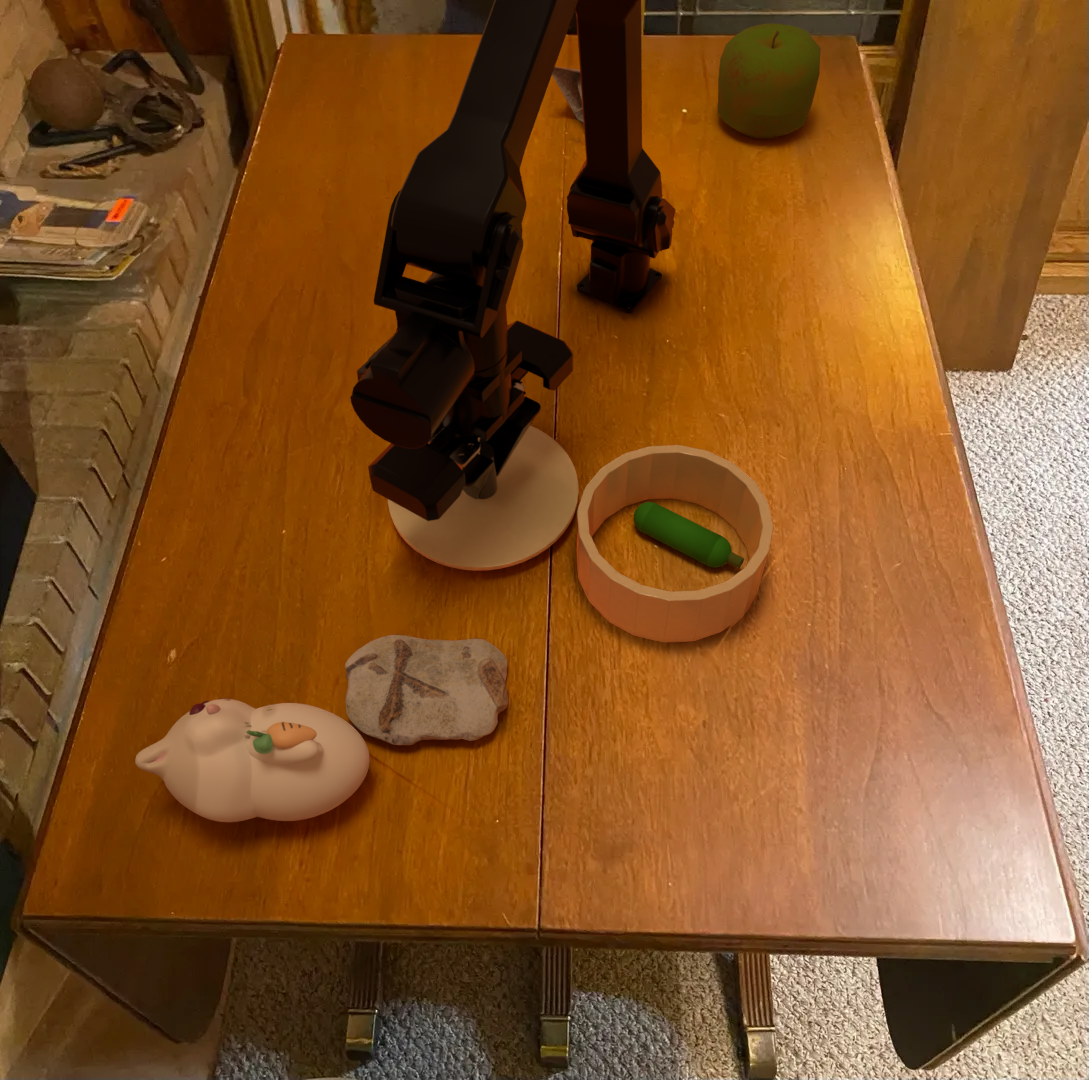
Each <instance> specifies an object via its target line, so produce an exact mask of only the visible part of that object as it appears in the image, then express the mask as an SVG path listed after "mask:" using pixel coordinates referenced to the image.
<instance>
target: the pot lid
mask: <svg viewBox="0 0 1089 1080" xmlns="http://www.w3.org/2000/svg"><path fill="white" fill-rule="evenodd" d="M480 446H481V449H480V454H482V455H484V456H486V457H488V458H490V459H492V460H493V461H494V463H493V465H492V468H491V471H490V473H489V475H488V478H487V481H486V483H485V486H484V488H483V490H482V493H481V495H480V497H479V498H478V499H474V498H472V497H470V496H468V495H467V494H466V493H465V492H464V491H463V490H462V492H461V495H460V496H459V498H458V499H457V500H456V501H455V502H454V503H453V504H452V505H451V506H450V507H449V509H448V510H447V511H446V512H445V513H444V514H443V515H442V516H441V517H440V519H438V520H432V521H427V520H425V519H423V518H421V517H420V516H418V515H416V514H414V513H412V512H411V511H409V510H407V509H405V508H403V507H401V506H400V505H398V504H396V503H394V502H392V501H391V500H389V499H387V506H388V512H389V516H390V519H391V521H392V523H393V526H394V528H395V530H396V531H397V533H398V535H399V536H400V537H401V538H402V539H403V541H404V542H405V543H406V544H407V545H408V546H409V547H411V549H413V550H414V551H415V552H417V553H418V554H420V555H422V556H423V557H424V558H426V559H429V560H430V561H432V562H435V563H436V564H439V565H442V566H445V567H447V568H452V569H458V570H464V571H493V570H494V571H495V570H501V569H504V568H505V569H506V568H509V567H513V566H516V565H519V564H522V563H524V562H527V561H528V560H531V559H534V558H535V557H537V556H539V555H540V554H542V553H543V552H545V551H546V550H548V549H549V548H550V547H551V546H552V545H553V544H555V543H556V542H557V541H558V540H559V539H560V538H561V536H562V535H564V533H565V532H566V530H567V529H568V527H569V526H570V524H571V522H572V521H573V518H574V516H575V513H576V510H577V508H578V502H579V495H580V494H579V493H580V491H579V480H578V474H577V470H576V468H575V465H574V463H573V461H572V459H571V458H570V456H569V454H568V453H567V451H566V450H565V449H564V448H563V446H562V445H560V444H559V443H558V442H557V441H556V440H555V438H553V437H551V436H550V435H549V434H547V433H546V432H544V431H542V430H540V429H538V428H537V427H535V426H532V425H530V426H529V428H528V429H527V431H526V432H525V434H524V435H523V437H522V439H521V440H520V442H519V443H518V445H517V446H516V448H515V450H514V451H513V453H512V454H511V456H510V458H509V459H508V461H507V463H506V464H505V466H504V467H503V469H502V471H501V472H500V474H499V475H498V476H497V475H496V464H495V453H494V449H493V447H492V446H491V445H490V444H488V443H486V442H481V441H480Z"/></svg>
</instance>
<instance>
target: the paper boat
mask: <svg viewBox="0 0 1089 1080" xmlns="http://www.w3.org/2000/svg"><path fill="white" fill-rule="evenodd" d="M551 77H553V79H554V81H555V83H556V84H557V86H558V88H559V90H560V91H561V93H562V95H563V97H564V98H565V100H566V102H567V103H568V105H569V107H570V108H571V110H572V112H573V114H574V116H575V118H576V119H577V121H579V122H581V123H583V124H584V120H583V106H582V91H581V77H580V69H576V68H570V67H569V68H568V67H561V66H555V67H554V70H553V73H552V76H551Z"/></svg>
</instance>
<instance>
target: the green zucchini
mask: <svg viewBox="0 0 1089 1080" xmlns="http://www.w3.org/2000/svg"><path fill="white" fill-rule="evenodd" d="M632 520H633V523H634V525H635V527H636V529H637V530H638V531H640V532H641V533H642V534H645V535H646V536H649V537H651V538H652V539H655V540H657V541H658V542H660V543H662V544H664V545H666V546H668V547H670V548H671V549H674V550H676V551H678V552H680V553H682V554H683V555H686V556H688V557H690V558H691V559H693V560H696V561H697V562H699V563H701V564H703V565H705V566H708V567H710V568H720V567H723V566H725V565H726V564H728V565H731V566H733V567H735V568H737V569H740V568H741V566H742V565H743V563H744V560H745V558H744V557H743V556H740V555H738V554H736V553H734V552H732V546H731V544H730V542H729V540H728V539H727V538H726V537H724V536H722V535H721V534H718V533H717V532H714V531H713V530H711V529H708V528H706V527H704V526H702V525H701V524H698V523H697V522H695V521H692V520H691V519H688V518H686V517H684V516H683V515H680V514H678V513H676V512H674V511H673V510H670V509H668V508H666V507H665V506H662V505H661V504H658V503H656V502H653V501H646V502H643V503H641V504H639V505H638V506H637V507H636V508H635V510H634V512H633V519H632Z"/></svg>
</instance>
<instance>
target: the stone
mask: <svg viewBox="0 0 1089 1080" xmlns="http://www.w3.org/2000/svg"><path fill="white" fill-rule="evenodd" d="M344 669H345V670H346V674H345V677H346V679H347V690H346V693H345V701H344V702H345V708H346V709H345V713H346V716H347V717H348V719H349V720H350V722H351V723H352V724H353V725H354V727H356V728H357V729H358V730H359V731H360V732H362V733H363V734H365V735H367V736H370V737H372V738H374V739H376V740H377V739H378V740H381V741H384V742H386V743H388V744H389V745H390V744H391V745H395V746H412V745H415V744H416V743H418V742H420V741H423V740H437V741H438V740H439V741H442V740H443V741H444V740H455V741H456V740H457V741H458V740H461V739H462V740H466V741H469V742H473V741H477V740H480V739H481V738H483V737H486V736H488V735H490V734H492V733H493V732H494V730H495V729H496V727H497V725H498V723H499V720H498V715H499V714H500V713H502V712H504V710H506V709H507V708H508V706H509V703H510V701H509V696H508V689H507V687H506V686H507V682H506V679H507V676H508V673H507V672H508V660H507V658H506V656H505V654H504V653H503V652H502V651H501V650H500V649H499V648H498V647H497V646H495V645H494V644H492V643H491V642H489V641H487V640H486V639H483V638H478V637H477V638H466V639H458V640H449V639H427V638H422V637H417V636H411V635H404V634H403V635H402V634H389V635H384V636H381V637H378V638H374V639H373V640H371V641H369V642H367V643H366V644H364V645H363V646H362V647H360V648H358V649H356V650H355V651H354V652H353V653H352V654H351V655H350V656H349V658H348V659H347V660H346V662H345V663H344Z"/></svg>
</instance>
